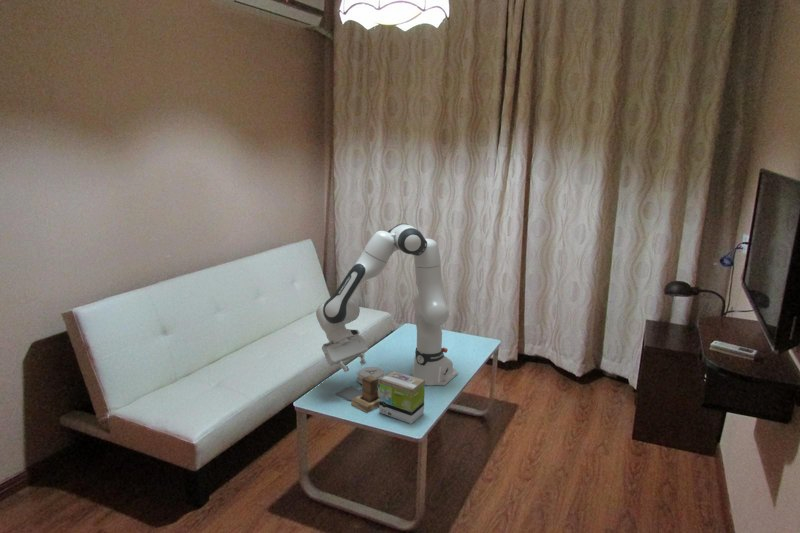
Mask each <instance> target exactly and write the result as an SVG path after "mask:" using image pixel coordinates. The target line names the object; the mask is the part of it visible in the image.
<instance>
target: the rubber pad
mask: <svg viewBox="0 0 800 533" xmlns="http://www.w3.org/2000/svg"><path fill="white" fill-rule="evenodd" d="M334 393H335V395H336V396H338V397H340V398H343V399H344V400H346V401H348V402H351V399H353V398H355V397H357V396H360V395H362V389H359V388H357V387H354V386H353V385H350V386H348V387H346V388H343V389H342V390H338V391H336V392H334Z"/></svg>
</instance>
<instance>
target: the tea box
mask: <svg viewBox="0 0 800 533" xmlns="http://www.w3.org/2000/svg"><path fill="white" fill-rule="evenodd" d="M425 388H426V385H425V380H423V379H419V378H416V377H413V375H409V374H406V373H402V372H399V371H395V370H392V371H391V372H389V373H387V374H386V375H385V377H383V378H382V379H380V384H379V392H380V395H379V407H378V408H379V410H378V412H379V414H382V415H385V416H386V415H387V416H388V417H391V418H395V419H397V420H399V421H402V422H405V423H408V424H410V425H411V424H413V423H414V422H415V421H417V419H418V418H420V417H421V416H422V415H423V414H424V413H425V412H424V410H425V392H426V390H425Z"/></svg>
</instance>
